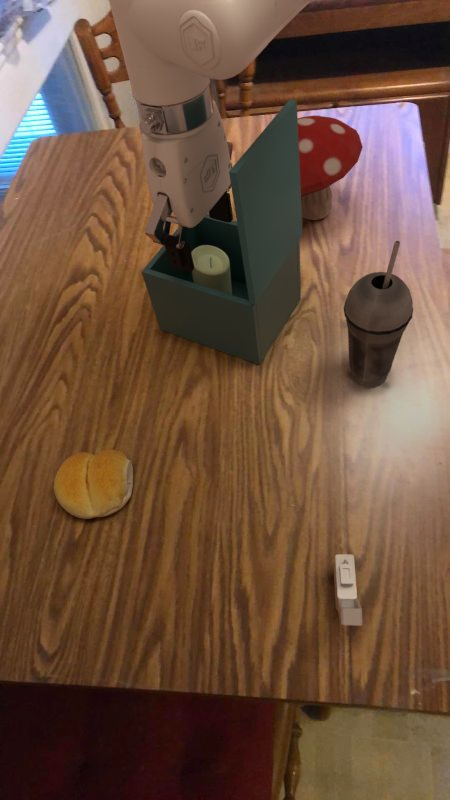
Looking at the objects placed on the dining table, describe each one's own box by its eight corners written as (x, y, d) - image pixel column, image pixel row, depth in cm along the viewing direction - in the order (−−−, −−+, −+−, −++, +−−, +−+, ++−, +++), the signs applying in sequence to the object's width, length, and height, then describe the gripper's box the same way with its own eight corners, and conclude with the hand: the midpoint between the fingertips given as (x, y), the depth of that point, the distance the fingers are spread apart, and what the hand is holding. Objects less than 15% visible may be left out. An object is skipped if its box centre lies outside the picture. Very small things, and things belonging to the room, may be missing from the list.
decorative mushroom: (300, 263, 83) (298, 172, 70) (235, 214, 91) (224, 124, 79) (380, 213, 87) (391, 118, 74) (311, 170, 95) (311, 78, 83)
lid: (228, 171, 50) (236, 173, 50) (289, 98, 56) (296, 99, 56) (249, 303, 64) (255, 305, 64) (296, 234, 69) (302, 235, 69)
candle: (240, 299, 79) (236, 250, 72) (218, 320, 76) (212, 271, 70) (211, 287, 81) (205, 238, 75) (189, 307, 79) (181, 258, 72)
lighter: (333, 568, 57) (336, 540, 51) (350, 568, 57) (356, 540, 50) (337, 643, 53) (341, 623, 47) (356, 644, 53) (363, 623, 46)
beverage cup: (327, 366, 72) (333, 240, 55) (375, 341, 73) (395, 212, 56) (361, 406, 68) (378, 284, 51) (411, 380, 69) (443, 253, 52)
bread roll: (63, 460, 68) (51, 444, 65) (136, 453, 68) (127, 436, 64) (54, 525, 64) (40, 511, 60) (132, 518, 63) (122, 503, 60)
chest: (159, 329, 79) (140, 271, 70) (205, 270, 84) (192, 209, 75) (259, 365, 73) (252, 307, 64) (300, 299, 79) (299, 237, 70)
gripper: (159, 161, 50) (192, 298, 64) (249, 66, 58) (261, 207, 72) (93, 146, 53) (139, 281, 67) (188, 58, 61) (211, 195, 75)
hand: (202, 242), depth 70 cm, fingers open, 9 cm apart
